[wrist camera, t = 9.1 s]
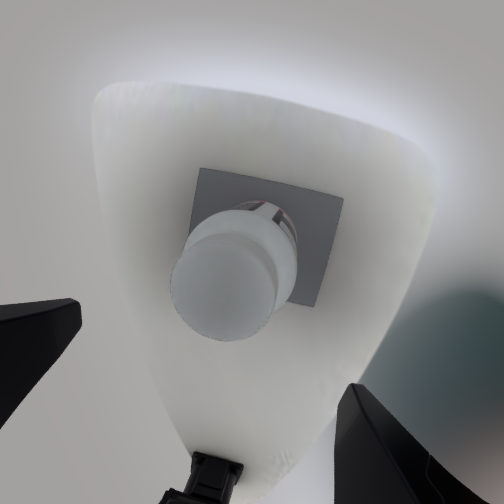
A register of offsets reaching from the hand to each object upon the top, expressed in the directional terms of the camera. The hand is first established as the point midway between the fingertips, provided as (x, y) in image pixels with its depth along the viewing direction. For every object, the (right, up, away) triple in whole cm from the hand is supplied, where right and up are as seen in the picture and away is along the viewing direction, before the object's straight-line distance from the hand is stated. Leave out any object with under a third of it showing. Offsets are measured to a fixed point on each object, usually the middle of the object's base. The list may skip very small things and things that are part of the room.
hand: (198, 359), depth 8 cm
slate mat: (+2, +4, +12) cm, 13 cm away
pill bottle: (+2, +4, +12) cm, 13 cm away
